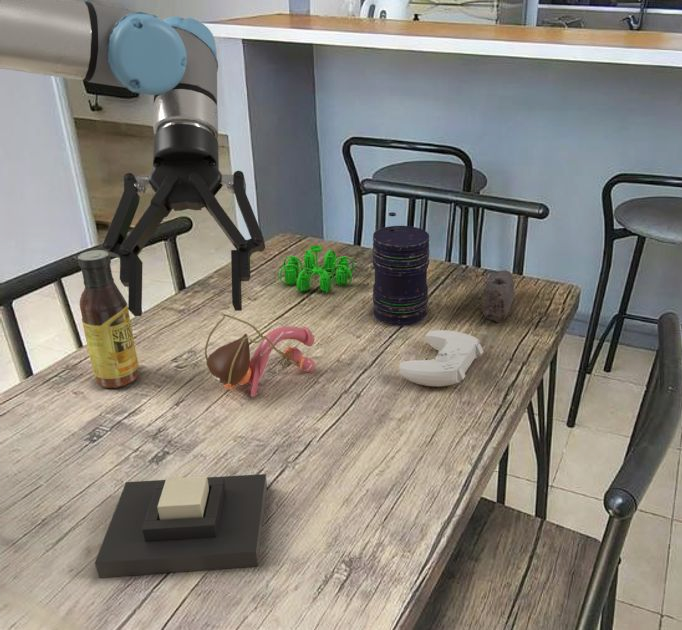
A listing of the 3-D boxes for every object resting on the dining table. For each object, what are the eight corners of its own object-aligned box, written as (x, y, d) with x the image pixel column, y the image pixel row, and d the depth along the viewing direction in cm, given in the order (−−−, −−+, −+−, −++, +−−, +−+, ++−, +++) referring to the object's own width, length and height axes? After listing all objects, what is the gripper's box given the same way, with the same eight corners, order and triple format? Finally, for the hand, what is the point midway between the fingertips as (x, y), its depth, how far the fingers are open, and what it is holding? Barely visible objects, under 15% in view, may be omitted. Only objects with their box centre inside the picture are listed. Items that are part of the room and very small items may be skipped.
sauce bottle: (131, 391, 99) (104, 265, 90) (88, 390, 99) (57, 264, 90) (147, 367, 105) (124, 247, 96) (107, 366, 105) (80, 246, 96)
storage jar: (438, 317, 122) (442, 222, 113) (391, 331, 117) (392, 233, 108) (407, 296, 129) (409, 205, 121) (362, 309, 124) (361, 214, 116)
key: (160, 521, 72) (157, 506, 71) (168, 492, 76) (166, 478, 75) (202, 518, 72) (200, 504, 72) (209, 489, 76) (207, 475, 75)
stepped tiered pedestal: (98, 578, 70) (90, 549, 68) (129, 496, 80) (122, 469, 78) (258, 566, 71) (254, 538, 70) (267, 487, 82) (264, 461, 80)
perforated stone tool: (492, 290, 132) (494, 257, 129) (519, 294, 131) (522, 261, 128) (475, 325, 119) (478, 289, 116) (505, 330, 118) (509, 294, 115)
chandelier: (334, 303, 126) (332, 268, 123) (264, 288, 130) (261, 255, 127) (368, 272, 138) (367, 240, 135) (303, 260, 143) (301, 229, 140)
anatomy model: (341, 353, 104) (277, 306, 93) (286, 426, 102) (214, 387, 91) (307, 327, 111) (243, 280, 100) (255, 395, 109) (184, 355, 98)
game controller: (429, 323, 113) (486, 324, 109) (433, 347, 115) (489, 349, 110) (391, 365, 101) (453, 368, 97) (397, 390, 103) (458, 395, 99)
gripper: (283, 152, 89) (291, 314, 82) (96, 155, 85) (89, 325, 79) (279, 119, 82) (288, 293, 75) (75, 121, 78) (66, 304, 72)
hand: (186, 309), depth 77 cm, fingers open, 10 cm apart
